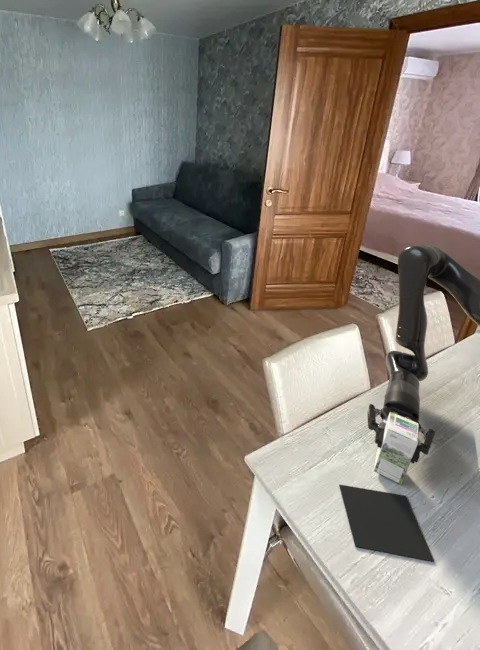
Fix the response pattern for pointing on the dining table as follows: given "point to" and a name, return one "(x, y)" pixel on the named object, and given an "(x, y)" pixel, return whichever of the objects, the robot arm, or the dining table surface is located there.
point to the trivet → (384, 523)
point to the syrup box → (396, 448)
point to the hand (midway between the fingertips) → (396, 452)
